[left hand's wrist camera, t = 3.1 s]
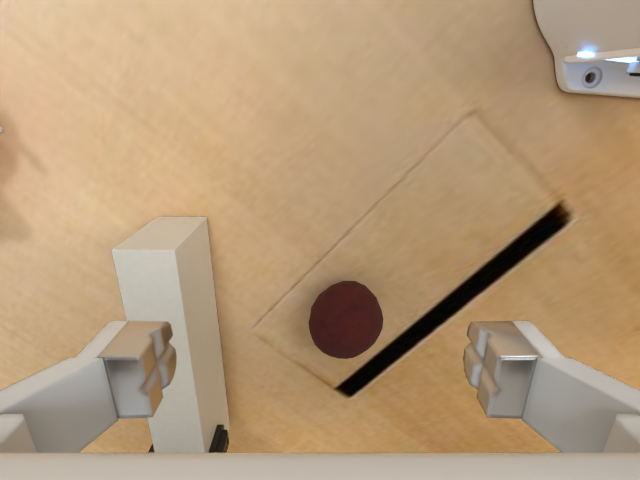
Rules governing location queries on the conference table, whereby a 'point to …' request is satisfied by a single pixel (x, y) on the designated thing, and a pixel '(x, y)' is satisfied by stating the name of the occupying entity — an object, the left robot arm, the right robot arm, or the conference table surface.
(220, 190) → the conference table surface
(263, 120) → the conference table surface
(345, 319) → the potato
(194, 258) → the bar
